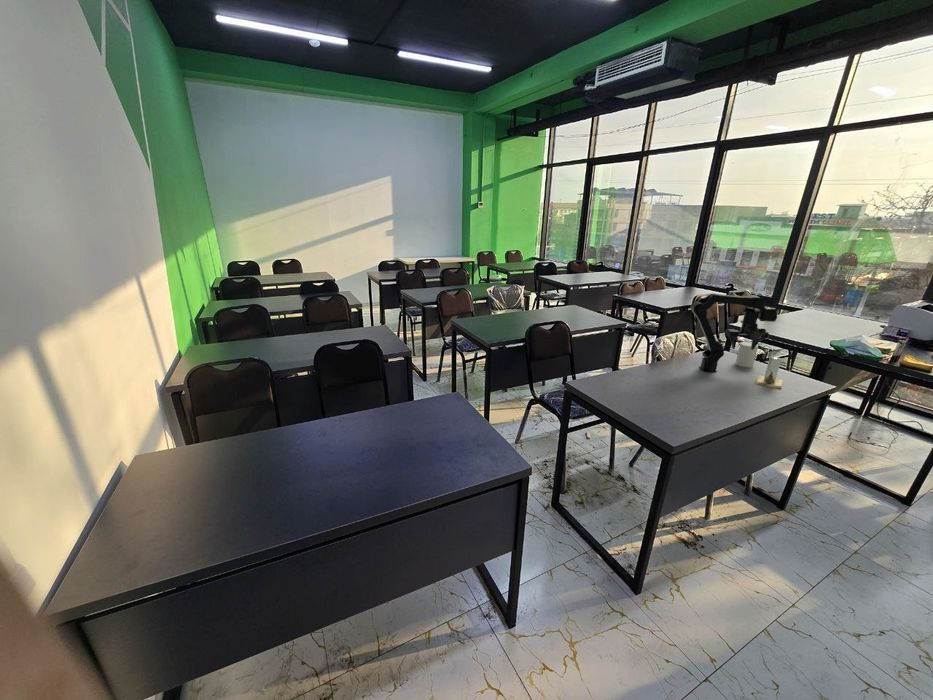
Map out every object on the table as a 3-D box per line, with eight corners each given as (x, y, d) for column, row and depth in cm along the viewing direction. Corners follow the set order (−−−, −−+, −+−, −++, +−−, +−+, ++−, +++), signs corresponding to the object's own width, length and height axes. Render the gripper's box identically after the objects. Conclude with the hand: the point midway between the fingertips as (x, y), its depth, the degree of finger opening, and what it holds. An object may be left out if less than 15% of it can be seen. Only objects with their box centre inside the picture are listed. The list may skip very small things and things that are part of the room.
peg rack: (755, 383, 197) (758, 373, 195) (757, 377, 204) (760, 368, 202) (780, 389, 191) (783, 379, 189) (782, 382, 198) (784, 372, 196)
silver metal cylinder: (767, 382, 195) (773, 359, 191) (761, 378, 199) (767, 356, 195) (777, 382, 195) (783, 360, 190) (771, 378, 199) (777, 356, 195)
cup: (756, 367, 217) (761, 346, 213) (741, 367, 217) (746, 346, 213) (746, 362, 224) (751, 342, 220) (732, 361, 224) (737, 341, 220)
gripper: (739, 324, 194) (732, 354, 199) (779, 325, 192) (771, 355, 197) (727, 318, 204) (720, 346, 210) (765, 319, 203) (758, 347, 208)
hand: (742, 349), depth 206 cm, fingers open, 9 cm apart
